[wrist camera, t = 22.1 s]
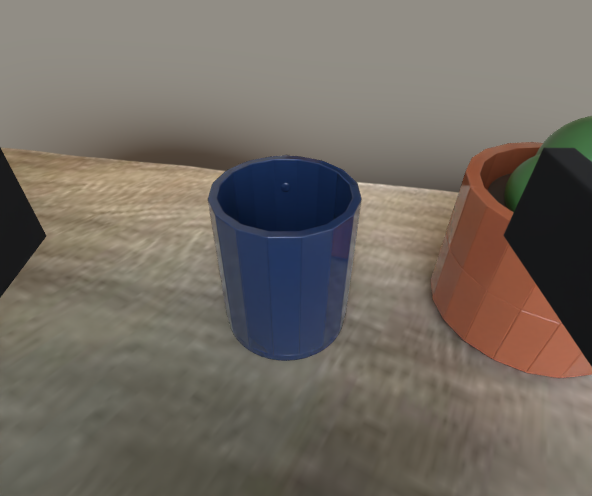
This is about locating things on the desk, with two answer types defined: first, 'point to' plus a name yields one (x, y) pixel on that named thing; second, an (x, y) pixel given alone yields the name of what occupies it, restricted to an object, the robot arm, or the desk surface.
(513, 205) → the plant
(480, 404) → the desk surface
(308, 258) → the mug
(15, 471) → the desk surface
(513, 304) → the flower pot
